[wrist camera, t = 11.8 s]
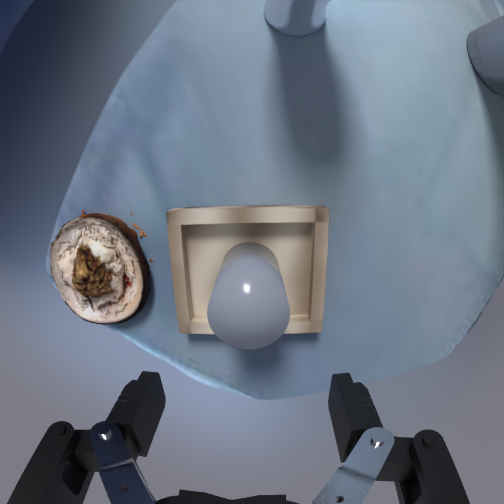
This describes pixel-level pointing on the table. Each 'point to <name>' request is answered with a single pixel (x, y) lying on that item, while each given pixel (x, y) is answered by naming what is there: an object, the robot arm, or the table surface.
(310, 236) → the birch tray
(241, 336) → the grey rounded cylinder
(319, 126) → the table surface
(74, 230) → the stuffed round slice
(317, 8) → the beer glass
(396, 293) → the table surface
